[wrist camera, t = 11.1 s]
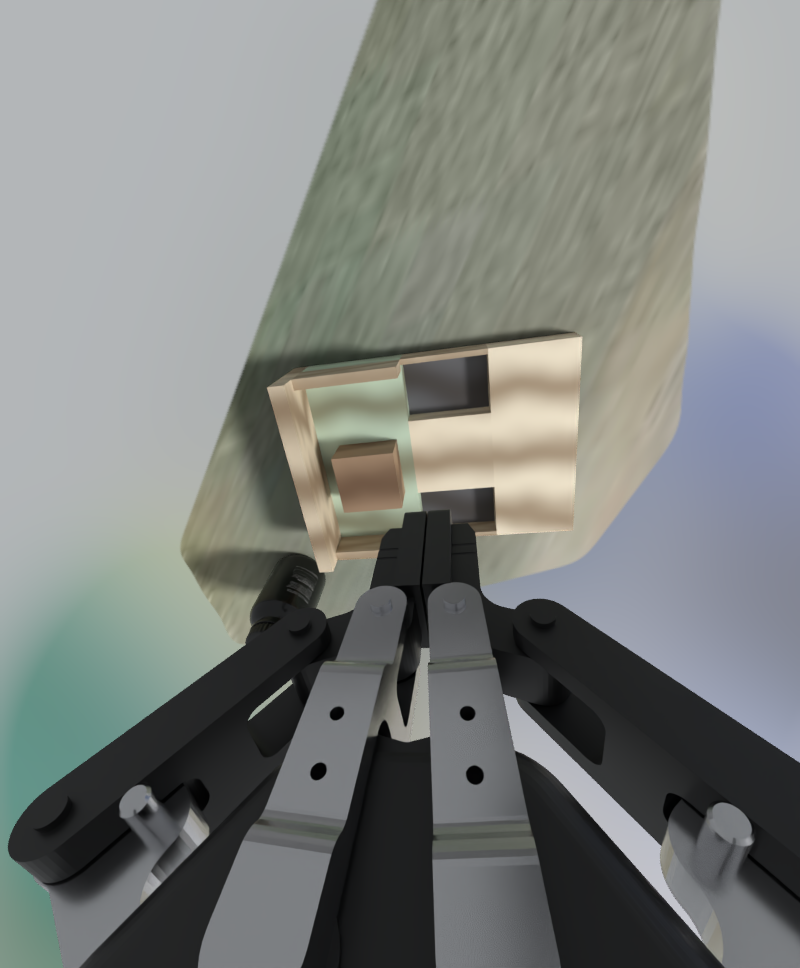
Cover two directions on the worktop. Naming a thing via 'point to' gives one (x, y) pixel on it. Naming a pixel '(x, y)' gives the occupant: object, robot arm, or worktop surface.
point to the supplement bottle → (286, 592)
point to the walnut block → (369, 476)
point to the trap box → (439, 438)
